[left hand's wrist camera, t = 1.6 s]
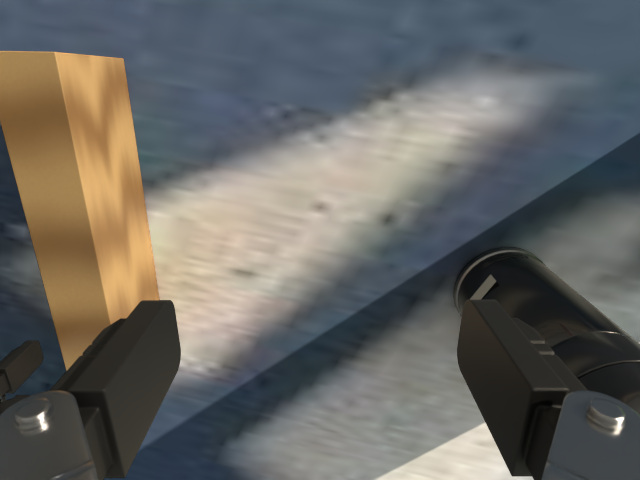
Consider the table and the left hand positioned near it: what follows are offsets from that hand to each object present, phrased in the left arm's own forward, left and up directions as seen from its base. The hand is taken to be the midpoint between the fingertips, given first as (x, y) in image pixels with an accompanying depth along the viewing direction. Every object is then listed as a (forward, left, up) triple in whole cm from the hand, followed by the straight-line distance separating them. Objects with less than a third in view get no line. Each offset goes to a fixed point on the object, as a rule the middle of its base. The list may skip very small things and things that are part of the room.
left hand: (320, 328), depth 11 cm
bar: (0, +19, -27) cm, 33 cm away
